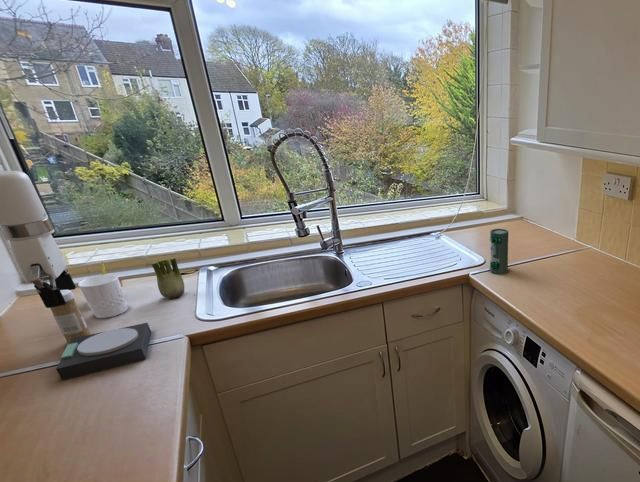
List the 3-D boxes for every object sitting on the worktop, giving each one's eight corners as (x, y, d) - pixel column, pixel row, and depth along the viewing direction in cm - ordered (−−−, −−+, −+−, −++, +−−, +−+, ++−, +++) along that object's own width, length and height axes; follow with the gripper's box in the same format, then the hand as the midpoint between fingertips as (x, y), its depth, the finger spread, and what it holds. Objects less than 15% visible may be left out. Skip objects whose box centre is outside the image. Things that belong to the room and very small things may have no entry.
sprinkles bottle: (97, 335, 103) (76, 288, 98) (85, 345, 99) (62, 296, 94) (75, 337, 102) (52, 289, 97) (62, 347, 98) (37, 298, 93)
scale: (61, 380, 87) (54, 365, 86) (76, 349, 98) (70, 335, 96) (145, 359, 95) (140, 345, 93) (151, 332, 105) (146, 319, 104)
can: (489, 268, 149) (488, 229, 144) (504, 266, 151) (505, 228, 145) (492, 274, 144) (492, 234, 138) (509, 273, 146) (509, 233, 140)
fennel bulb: (187, 291, 127) (175, 255, 122) (186, 297, 123) (173, 260, 119) (164, 295, 124) (151, 258, 119) (161, 301, 120) (148, 264, 116)
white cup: (91, 322, 109) (76, 289, 105) (93, 311, 115) (79, 279, 111) (130, 313, 114) (116, 281, 110) (130, 303, 119) (118, 272, 115)
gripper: (16, 222, 94) (49, 288, 101) (-14, 243, 81) (27, 317, 88) (61, 217, 98) (91, 281, 105) (40, 236, 85) (75, 308, 92)
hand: (62, 297), depth 96 cm, fingers open, 9 cm apart
